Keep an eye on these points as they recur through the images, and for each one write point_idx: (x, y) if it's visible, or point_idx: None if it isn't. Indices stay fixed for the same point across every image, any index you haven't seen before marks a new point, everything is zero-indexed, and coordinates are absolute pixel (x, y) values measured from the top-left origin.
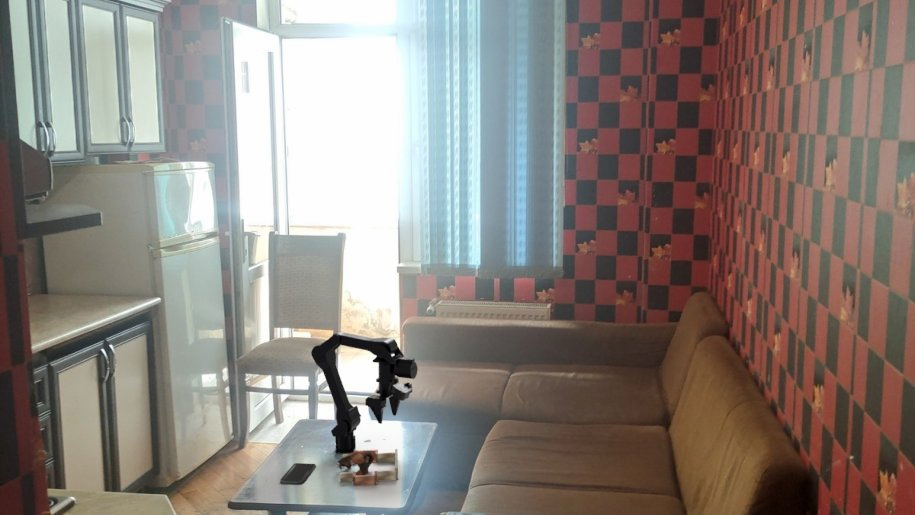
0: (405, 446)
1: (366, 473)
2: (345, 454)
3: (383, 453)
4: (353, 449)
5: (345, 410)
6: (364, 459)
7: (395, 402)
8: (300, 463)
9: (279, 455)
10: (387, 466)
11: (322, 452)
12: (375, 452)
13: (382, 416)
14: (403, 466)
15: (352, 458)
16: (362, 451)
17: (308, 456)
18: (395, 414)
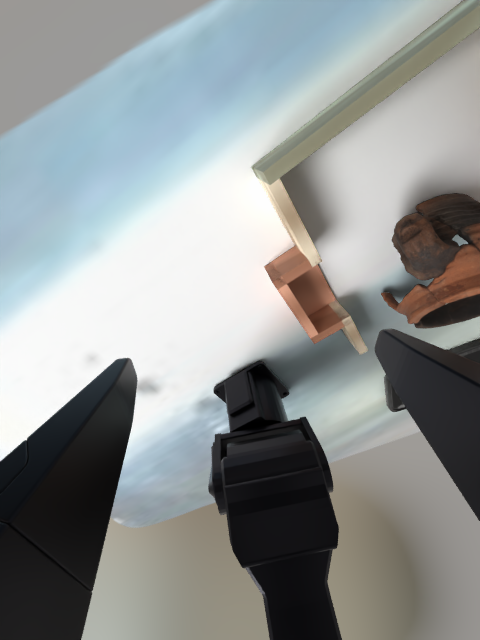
0: (84, 244)
1: (453, 195)
2: (359, 348)
3: (305, 229)
4: (249, 371)
5: (331, 552)
6: (450, 240)
7: (54, 523)
8: (391, 404)
9: (340, 455)
10: (333, 169)
11: (292, 415)
12: (307, 270)
13: (452, 366)
14: (309, 77)
15: None
16: (310, 321)
17: (327, 420)
18: (126, 364)
